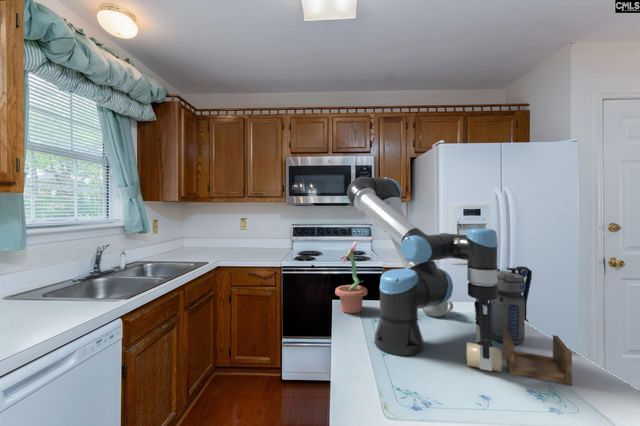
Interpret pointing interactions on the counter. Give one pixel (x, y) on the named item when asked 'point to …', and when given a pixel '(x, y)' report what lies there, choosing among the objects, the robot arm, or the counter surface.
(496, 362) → the cylinder
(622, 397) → the counter surface
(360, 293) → the decorative flower
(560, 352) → the holder
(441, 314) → the teacup
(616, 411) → the counter surface
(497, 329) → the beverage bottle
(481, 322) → the robot arm
